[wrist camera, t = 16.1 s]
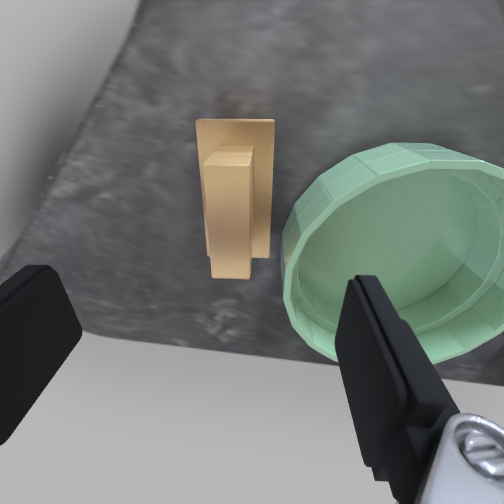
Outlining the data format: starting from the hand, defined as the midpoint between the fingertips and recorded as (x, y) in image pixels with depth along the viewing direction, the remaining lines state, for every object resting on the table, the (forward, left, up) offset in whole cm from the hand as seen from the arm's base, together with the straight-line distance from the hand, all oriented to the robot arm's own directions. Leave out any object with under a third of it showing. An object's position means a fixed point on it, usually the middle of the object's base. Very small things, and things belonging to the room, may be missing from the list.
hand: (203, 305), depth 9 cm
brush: (+1, 0, -15) cm, 15 cm away
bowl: (+6, +12, -15) cm, 20 cm away
